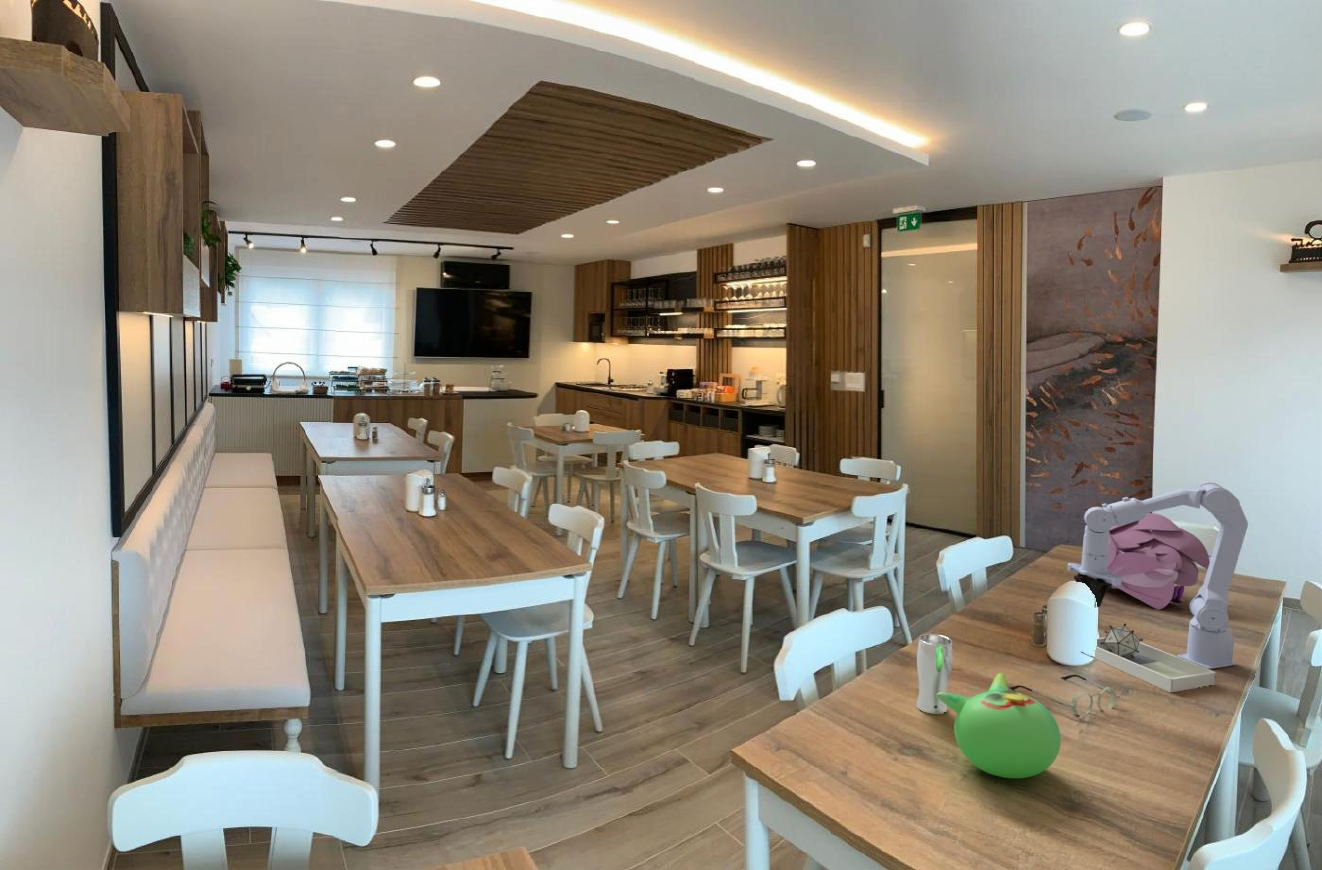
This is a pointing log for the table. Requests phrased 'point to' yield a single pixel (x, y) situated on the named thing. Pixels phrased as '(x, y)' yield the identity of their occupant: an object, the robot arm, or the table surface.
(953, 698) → the green squishy toy
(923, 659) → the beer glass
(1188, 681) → the shallow open box
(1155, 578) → the pink rounded layered piece
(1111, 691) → the eyeglasses
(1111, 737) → the table surface
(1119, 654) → the game die
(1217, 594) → the robot arm
